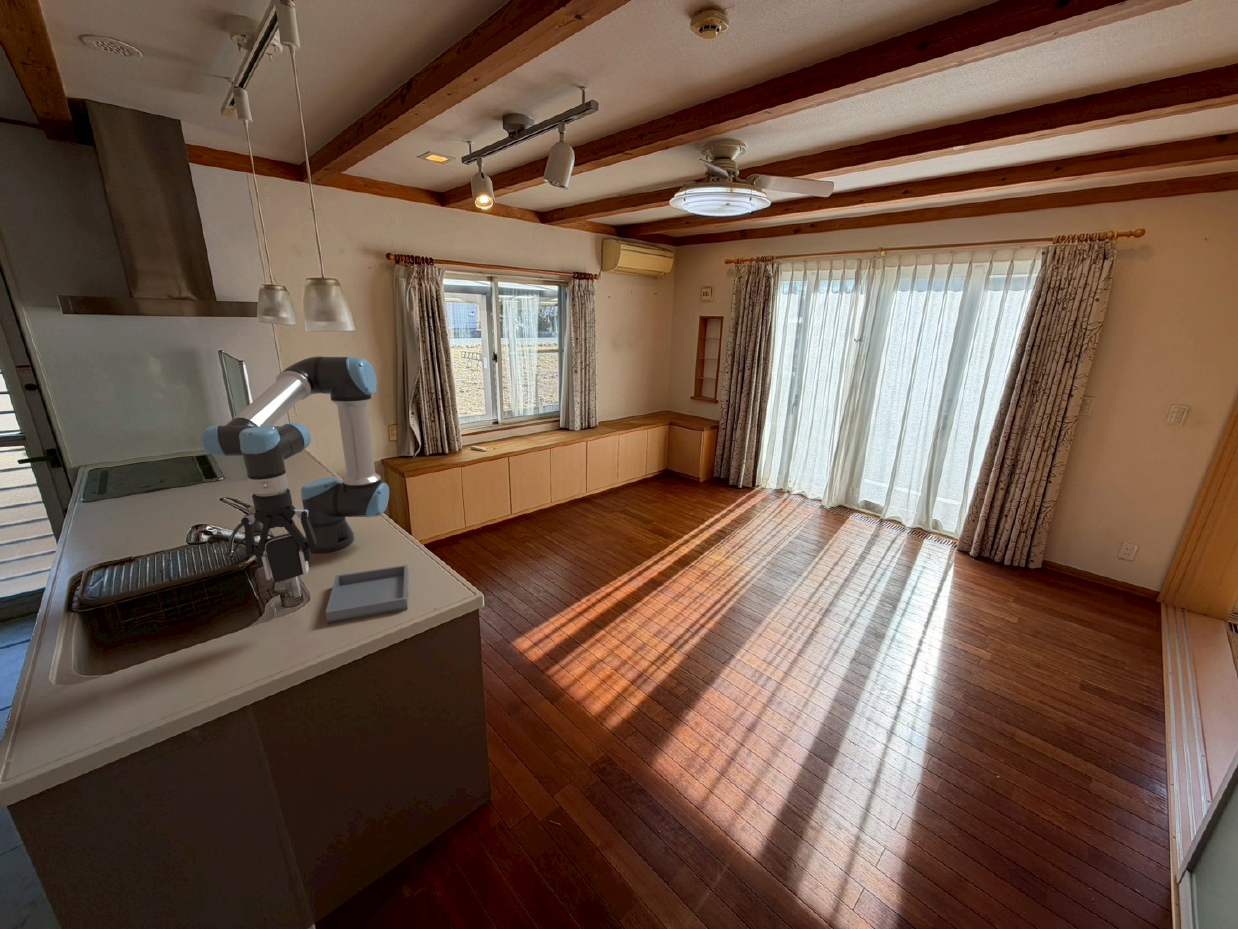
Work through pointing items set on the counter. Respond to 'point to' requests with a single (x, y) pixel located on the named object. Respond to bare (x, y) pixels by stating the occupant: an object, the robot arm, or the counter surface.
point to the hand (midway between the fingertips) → (288, 574)
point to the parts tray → (368, 594)
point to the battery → (283, 557)
